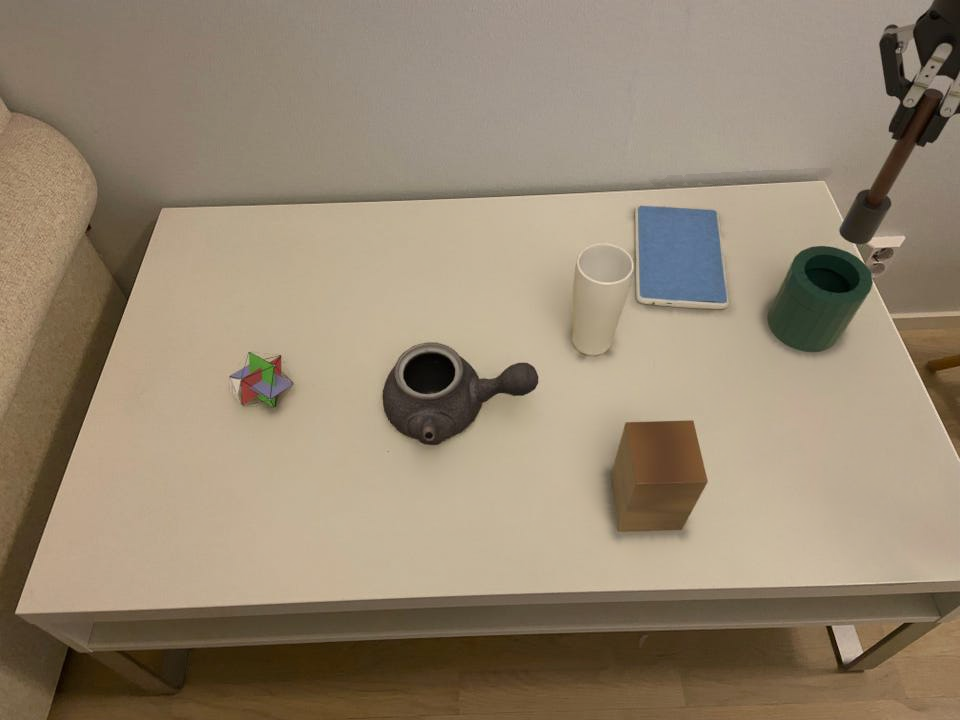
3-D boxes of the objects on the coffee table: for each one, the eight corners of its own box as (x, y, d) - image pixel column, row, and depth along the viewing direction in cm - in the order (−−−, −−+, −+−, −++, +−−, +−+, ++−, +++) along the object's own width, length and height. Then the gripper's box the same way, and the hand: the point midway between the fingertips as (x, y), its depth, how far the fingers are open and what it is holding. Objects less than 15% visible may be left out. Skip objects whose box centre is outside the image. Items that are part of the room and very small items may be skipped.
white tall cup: (555, 340, 93) (563, 262, 81) (589, 313, 96) (603, 233, 84) (593, 370, 90) (607, 293, 78) (627, 342, 93) (647, 263, 81)
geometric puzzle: (271, 344, 91) (230, 340, 84) (312, 366, 89) (273, 363, 82) (251, 394, 92) (208, 394, 85) (291, 417, 90) (250, 419, 82)
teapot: (380, 471, 83) (367, 428, 75) (387, 365, 92) (376, 316, 84) (539, 466, 83) (544, 423, 74) (530, 360, 92) (534, 311, 84)
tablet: (728, 311, 96) (730, 305, 95) (635, 305, 97) (636, 298, 96) (716, 215, 107) (719, 208, 106) (633, 210, 108) (635, 203, 107)
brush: (874, 228, 81) (956, 88, 66) (868, 248, 79) (951, 108, 65) (842, 218, 82) (916, 78, 68) (835, 238, 80) (910, 98, 66)
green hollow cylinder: (847, 312, 95) (879, 261, 87) (831, 362, 90) (864, 312, 82) (777, 288, 98) (802, 236, 90) (759, 335, 93) (783, 285, 85)
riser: (670, 473, 82) (693, 420, 72) (681, 530, 78) (708, 482, 68) (610, 474, 82) (625, 422, 72) (618, 531, 78) (635, 484, 68)
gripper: (911, -42, 56) (829, 140, 70) (1107, -4, 52) (978, 181, 66) (926, -79, 60) (846, 100, 74) (1110, -46, 56) (987, 137, 70)
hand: (909, 138), depth 70 cm, fingers closed on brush, 2 cm apart
